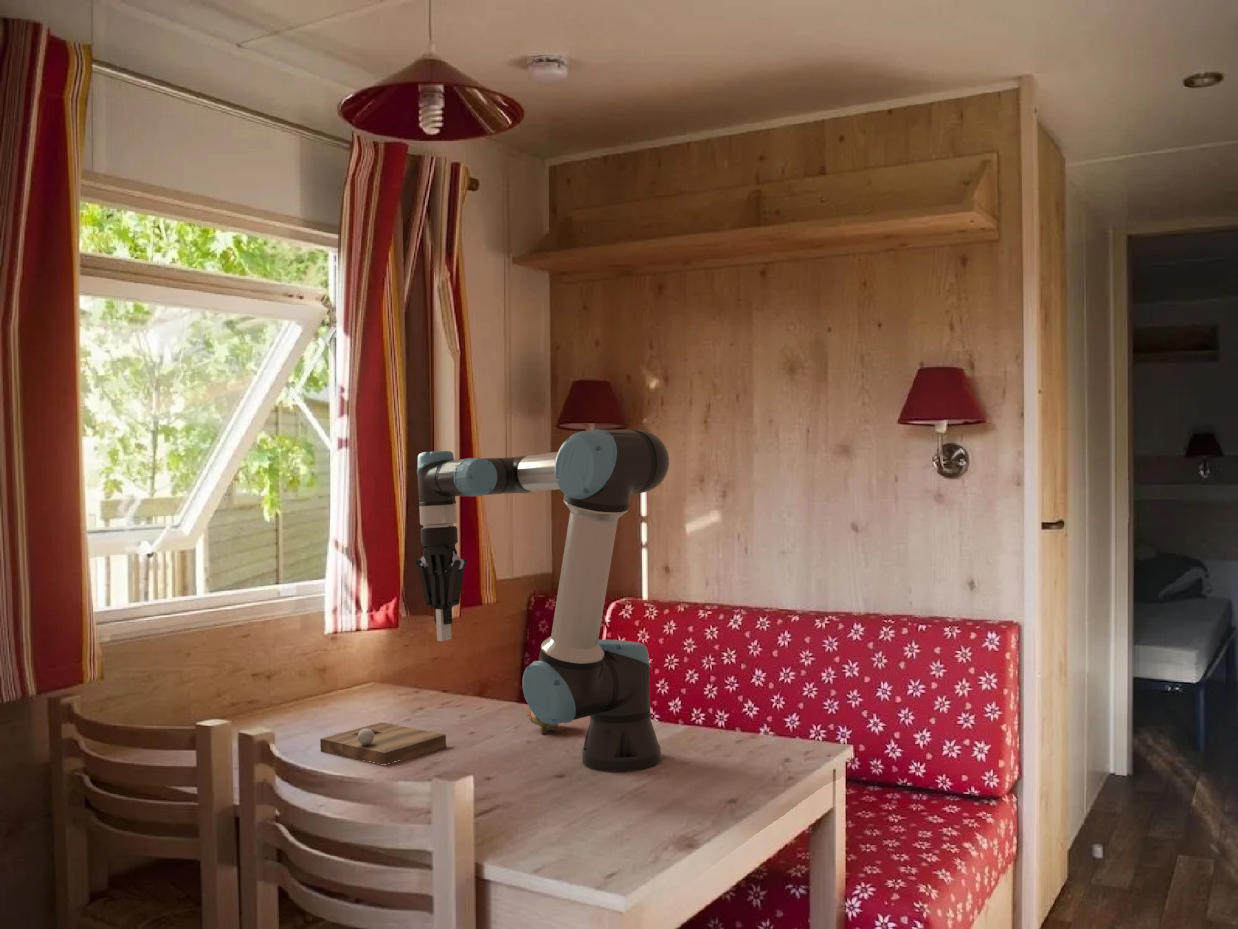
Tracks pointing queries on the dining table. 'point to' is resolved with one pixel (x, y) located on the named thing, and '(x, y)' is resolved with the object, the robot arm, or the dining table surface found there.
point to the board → (384, 743)
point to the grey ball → (365, 736)
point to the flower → (541, 723)
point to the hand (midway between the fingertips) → (444, 640)
